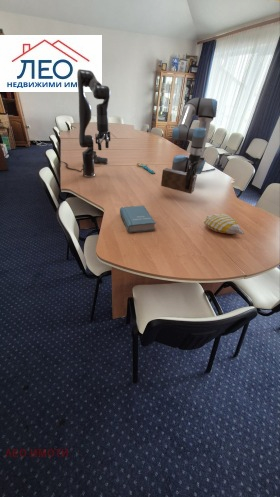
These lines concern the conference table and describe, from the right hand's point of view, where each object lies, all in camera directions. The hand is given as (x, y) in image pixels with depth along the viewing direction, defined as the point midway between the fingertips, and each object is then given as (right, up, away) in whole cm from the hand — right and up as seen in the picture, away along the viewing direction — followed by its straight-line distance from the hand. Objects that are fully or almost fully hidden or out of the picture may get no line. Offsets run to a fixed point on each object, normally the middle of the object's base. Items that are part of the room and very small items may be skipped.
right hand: (188, 187), depth 160 cm
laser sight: (-81, +46, +72) cm, 118 cm away
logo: (-28, +38, +67) cm, 82 cm away
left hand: (-61, +26, -5) cm, 66 cm away
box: (-8, +1, +5) cm, 9 cm away
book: (-37, -28, -23) cm, 52 cm away
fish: (+16, -33, -25) cm, 44 cm away
